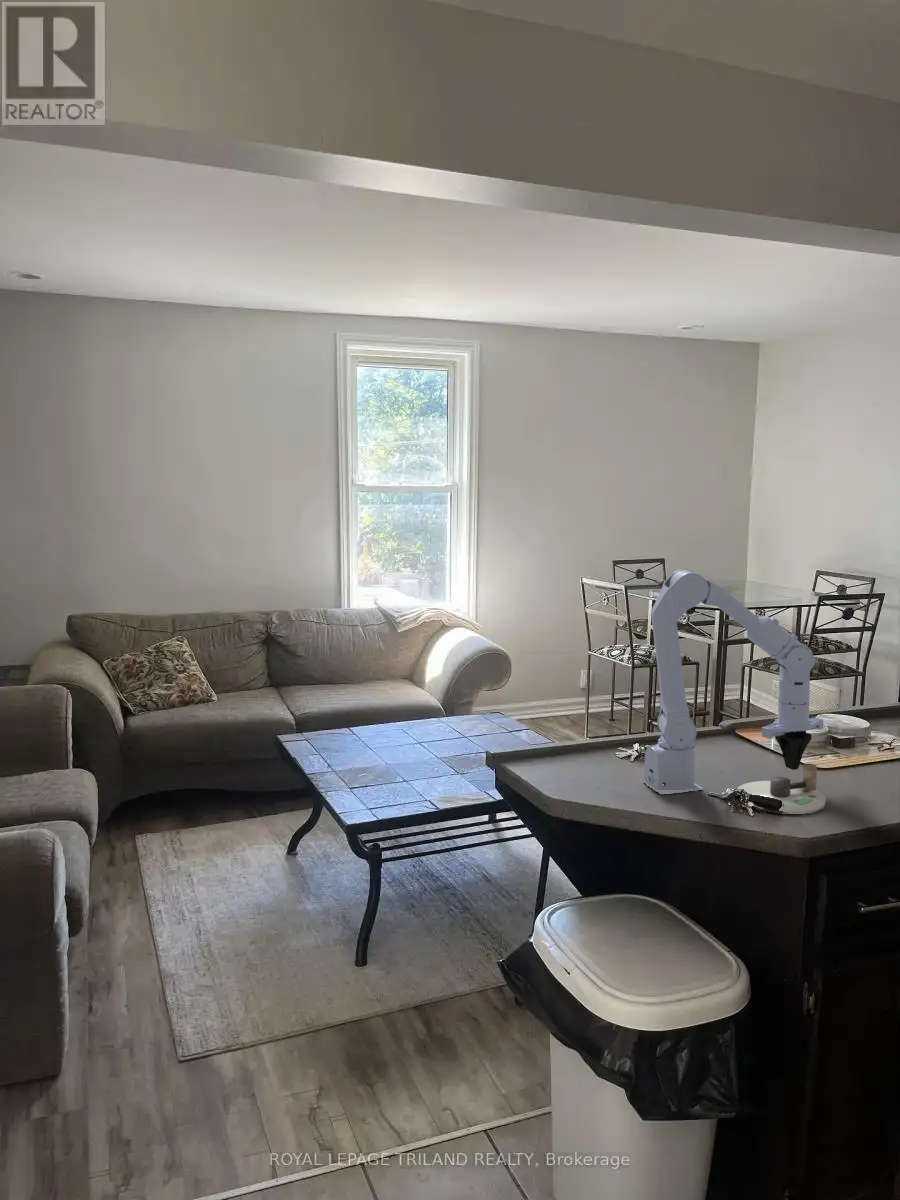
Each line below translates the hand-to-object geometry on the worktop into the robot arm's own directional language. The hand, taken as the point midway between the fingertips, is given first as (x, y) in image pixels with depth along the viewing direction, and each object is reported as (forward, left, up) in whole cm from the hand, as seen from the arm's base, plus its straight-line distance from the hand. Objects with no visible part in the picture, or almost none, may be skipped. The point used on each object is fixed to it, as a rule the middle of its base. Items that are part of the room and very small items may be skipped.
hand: (792, 768), depth 172 cm
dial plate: (-7, -5, -4) cm, 9 cm away
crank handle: (-4, -5, -3) cm, 7 cm away
